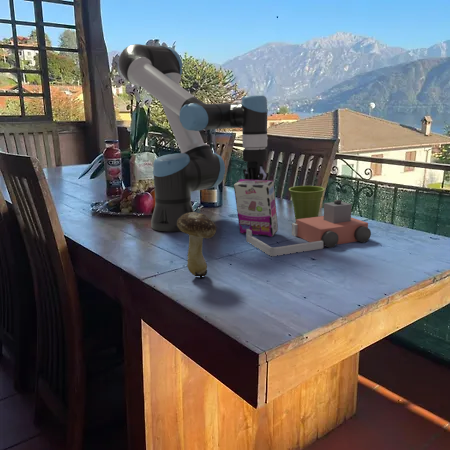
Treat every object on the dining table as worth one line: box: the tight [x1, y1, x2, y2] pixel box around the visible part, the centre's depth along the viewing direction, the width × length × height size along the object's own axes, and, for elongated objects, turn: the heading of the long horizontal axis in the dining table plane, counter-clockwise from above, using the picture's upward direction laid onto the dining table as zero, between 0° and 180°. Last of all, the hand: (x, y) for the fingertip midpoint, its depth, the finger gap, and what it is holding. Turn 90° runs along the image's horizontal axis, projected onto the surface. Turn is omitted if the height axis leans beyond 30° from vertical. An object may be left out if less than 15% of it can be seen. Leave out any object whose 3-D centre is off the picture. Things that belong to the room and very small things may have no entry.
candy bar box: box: [233, 178, 279, 237], centre depth 136 cm, size 11×5×16 cm, turn 62°
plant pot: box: [288, 185, 326, 221], centre depth 151 cm, size 12×12×11 cm
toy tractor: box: [245, 199, 372, 257], centre depth 129 cm, size 32×17×11 cm, turn 112°
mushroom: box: [177, 211, 217, 277], centre depth 102 cm, size 9×9×15 cm
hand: (255, 223), depth 143 cm, fingers closed
